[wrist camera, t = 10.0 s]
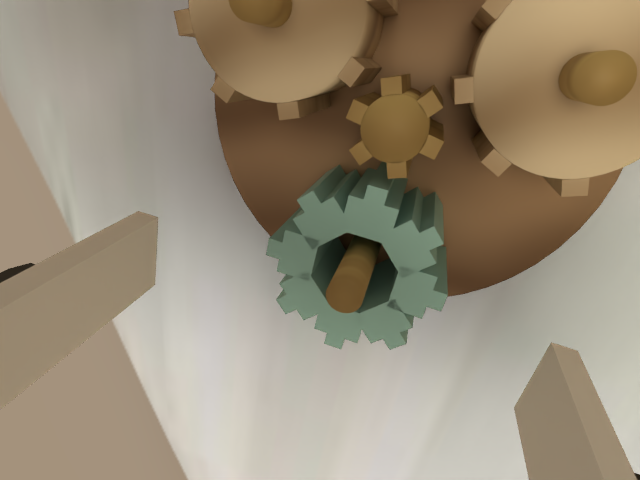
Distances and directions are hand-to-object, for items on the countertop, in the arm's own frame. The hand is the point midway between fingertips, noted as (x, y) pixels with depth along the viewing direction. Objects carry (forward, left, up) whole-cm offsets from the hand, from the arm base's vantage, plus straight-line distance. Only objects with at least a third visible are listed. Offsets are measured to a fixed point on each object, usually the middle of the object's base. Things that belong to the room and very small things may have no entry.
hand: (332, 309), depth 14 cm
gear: (0, 0, -9) cm, 9 cm away
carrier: (-5, +2, -10) cm, 11 cm away
